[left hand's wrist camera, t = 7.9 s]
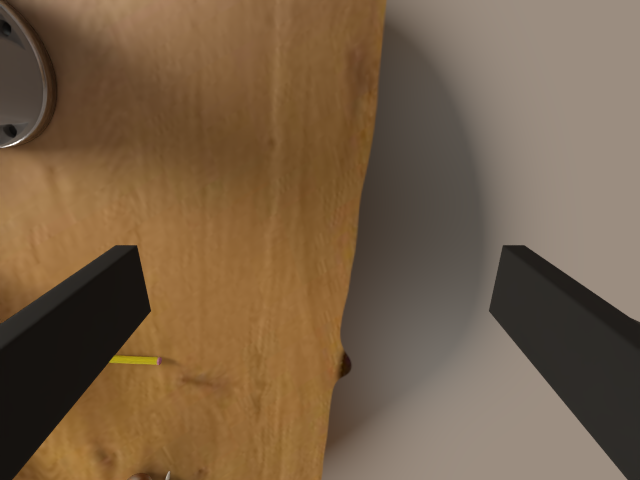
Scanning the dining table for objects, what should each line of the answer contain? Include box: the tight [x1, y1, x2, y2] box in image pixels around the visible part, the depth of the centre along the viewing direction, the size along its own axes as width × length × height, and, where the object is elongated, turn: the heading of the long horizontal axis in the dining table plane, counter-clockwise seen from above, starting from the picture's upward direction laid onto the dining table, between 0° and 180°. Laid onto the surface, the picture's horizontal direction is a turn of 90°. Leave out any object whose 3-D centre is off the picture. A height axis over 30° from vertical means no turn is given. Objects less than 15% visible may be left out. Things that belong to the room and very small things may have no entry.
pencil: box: [109, 355, 162, 365], centre depth 48 cm, size 16×1×1 cm, turn 87°
